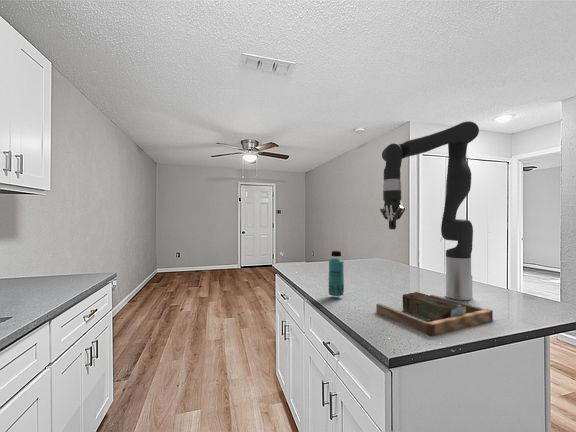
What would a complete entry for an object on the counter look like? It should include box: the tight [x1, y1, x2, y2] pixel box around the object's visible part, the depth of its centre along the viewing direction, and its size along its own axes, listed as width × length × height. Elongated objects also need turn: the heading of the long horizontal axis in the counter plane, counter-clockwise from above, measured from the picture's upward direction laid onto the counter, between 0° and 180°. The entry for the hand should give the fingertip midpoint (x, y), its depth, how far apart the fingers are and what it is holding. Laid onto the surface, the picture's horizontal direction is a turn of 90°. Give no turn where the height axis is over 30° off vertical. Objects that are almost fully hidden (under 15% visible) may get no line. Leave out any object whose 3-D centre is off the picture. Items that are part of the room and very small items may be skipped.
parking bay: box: [376, 294, 494, 337], centre depth 97 cm, size 29×22×3 cm
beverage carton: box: [402, 291, 466, 322], centre depth 97 cm, size 8×19×7 cm, turn 26°
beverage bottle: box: [327, 250, 345, 297], centre depth 120 cm, size 6×7×20 cm
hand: (392, 229), depth 124 cm, fingers closed
